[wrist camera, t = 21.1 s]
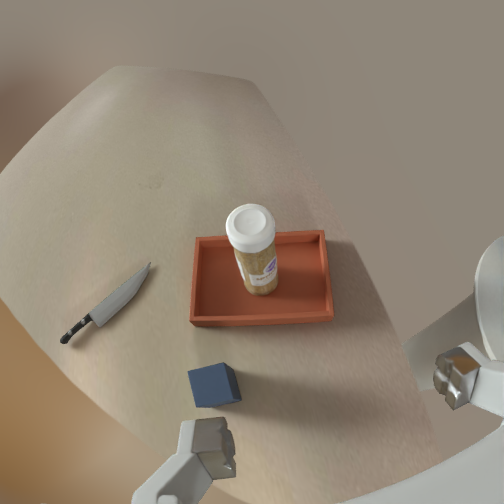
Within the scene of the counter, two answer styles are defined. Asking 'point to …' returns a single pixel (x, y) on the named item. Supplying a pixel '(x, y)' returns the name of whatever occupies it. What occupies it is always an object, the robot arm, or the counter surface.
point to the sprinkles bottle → (254, 247)
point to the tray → (268, 306)
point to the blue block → (214, 385)
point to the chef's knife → (111, 303)
